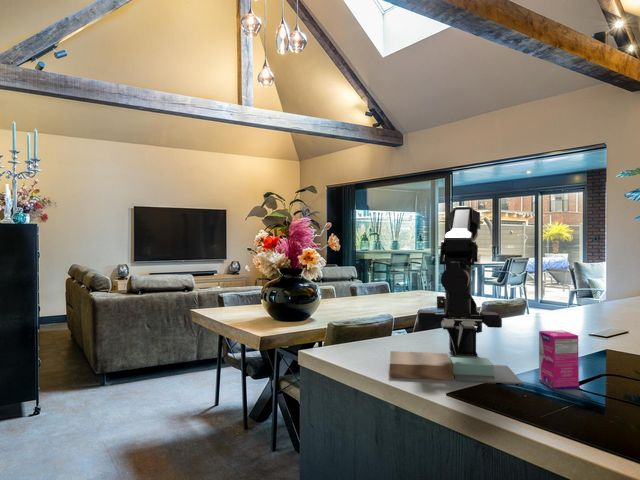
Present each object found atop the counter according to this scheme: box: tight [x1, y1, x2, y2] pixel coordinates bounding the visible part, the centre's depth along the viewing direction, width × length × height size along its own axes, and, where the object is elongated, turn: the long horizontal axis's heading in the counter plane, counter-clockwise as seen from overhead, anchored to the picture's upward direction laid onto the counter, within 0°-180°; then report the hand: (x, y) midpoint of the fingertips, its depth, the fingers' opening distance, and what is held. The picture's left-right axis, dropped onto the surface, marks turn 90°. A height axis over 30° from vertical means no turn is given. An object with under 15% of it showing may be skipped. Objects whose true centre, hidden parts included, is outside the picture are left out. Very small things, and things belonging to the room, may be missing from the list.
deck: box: [389, 350, 454, 381], centre depth 109 cm, size 14×12×3 cm
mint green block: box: [449, 356, 495, 376], centre depth 108 cm, size 9×6×2 cm, turn 82°
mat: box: [453, 364, 524, 386], centre depth 107 cm, size 14×14×1 cm
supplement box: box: [538, 329, 580, 390], centre depth 99 cm, size 6×6×12 cm
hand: (457, 355), depth 108 cm, fingers closed
